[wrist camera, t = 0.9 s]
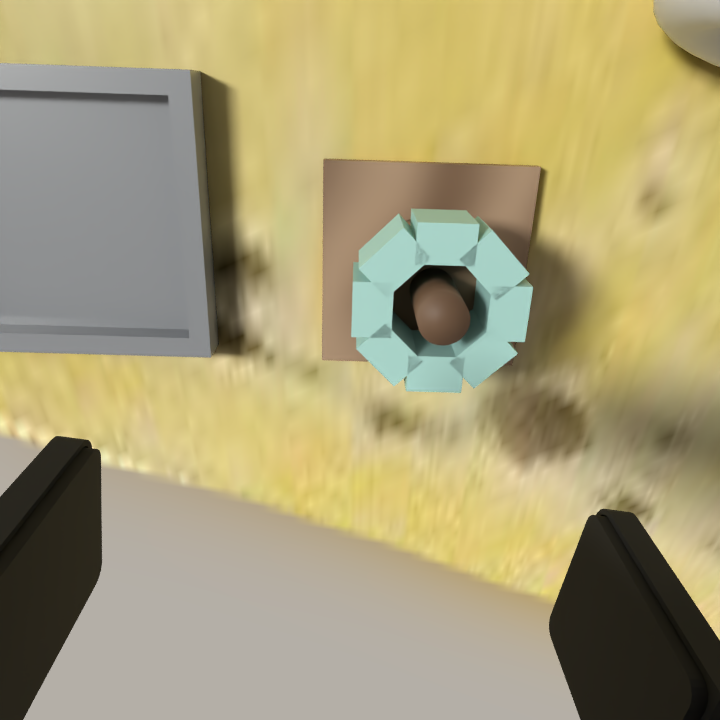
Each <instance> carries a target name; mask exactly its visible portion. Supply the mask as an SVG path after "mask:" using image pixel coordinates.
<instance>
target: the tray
mask: <svg viewBox="0 0 720 720" xmlns="http://www.w3.org/2000/svg"><path fill="white" fill-rule="evenodd" d="M218 344H219V341H218V326H217V311H216V296H215V281H214V266H213V251H212V236H211V221H210V206H209V192H208V177H207V162H206V147H205V132H204V117H203V102H202V87H201V72H200V71H194V70H180V69H152V68H123V67H95V66H66V65H38V64H9V63H0V352H35V353H71V354H106V355H142V356H177V357H212V355H213V353H214V351H215V350H216V348H217V346H218Z"/></svg>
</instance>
